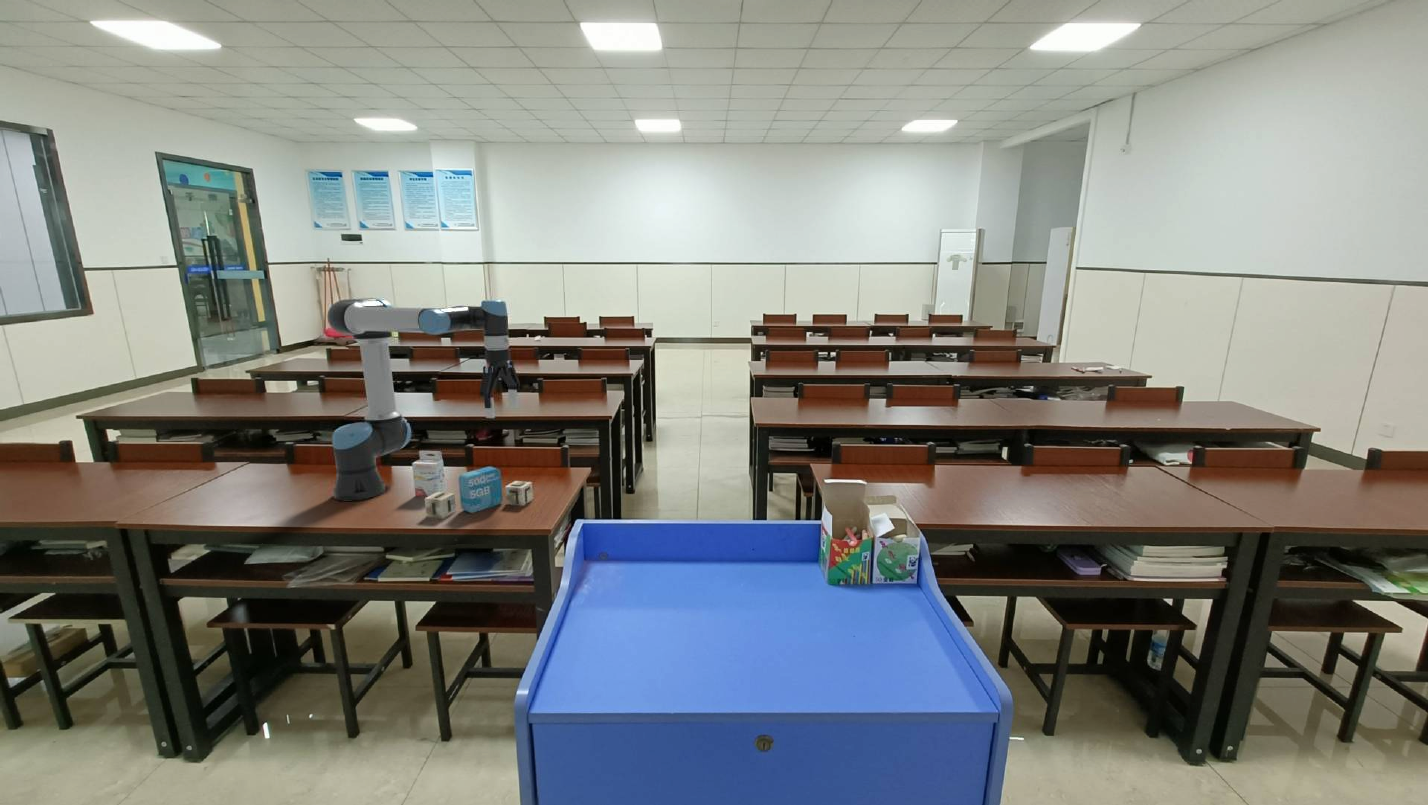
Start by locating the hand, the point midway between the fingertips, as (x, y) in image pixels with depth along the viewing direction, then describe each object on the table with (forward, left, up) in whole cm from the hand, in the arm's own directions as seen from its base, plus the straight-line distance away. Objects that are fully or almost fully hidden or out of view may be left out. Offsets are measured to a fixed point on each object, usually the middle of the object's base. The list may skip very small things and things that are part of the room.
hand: (502, 413), depth 203 cm
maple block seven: (+8, -6, -28) cm, 30 cm away
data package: (-1, -13, -28) cm, 31 cm away
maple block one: (-10, -21, -28) cm, 36 cm away
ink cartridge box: (-25, -7, -28) cm, 38 cm away
